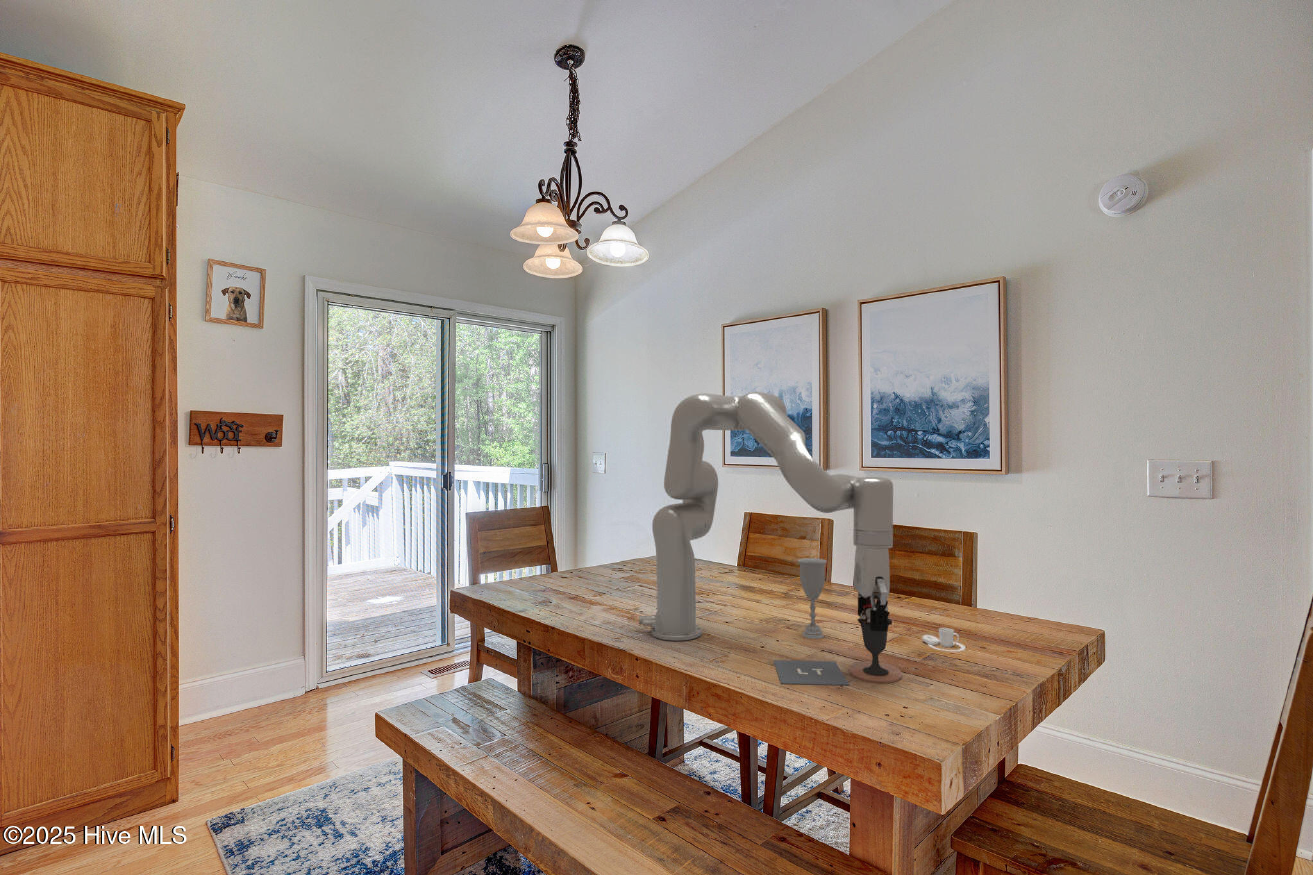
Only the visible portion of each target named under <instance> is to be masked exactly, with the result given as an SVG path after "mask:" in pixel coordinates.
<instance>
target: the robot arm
mask: <svg viewBox="0 0 1313 875" xmlns="http://www.w3.org/2000/svg"><path fill="white" fill-rule="evenodd" d="M787 411H788V410H787V406H786V405H785V403H784V401H783V400H782V399H781V398H780V397H779V396H777V395H775V394H772V393H766V392H760V391H751V392H748V393H744V394H743V395H736V396H735V395H734V396H733V395H723V394H714V393H697V394H693V395H690V396H687V397H686V398H684V399H683V400H681V401H680V402H679V403H678V404H677V406H676V407H675V409H674V411H673V414H672V418H671V423H670V436H669V445H668V449H667V451H668V452H667V458H666V464H665V472H664V480H663V488H664V492H665V493H666V495H667V496H669V498H671V499H674V500H681V501H682V502H680V503H679V502H678V503H674V504H667V505H665V506H663V507H661V508H660V509H659V510H658V511H656V513H655V514H654V517H653V519H652V523H651V524H652V536H653V539H654V546H655V559H656V563H655V564H656V612H655V614H651V615H650V616H649V615H638V616H639V617H638V623H639V625H642V626H645V627H648V626H651V628H650V634H651V636H652V637H654V638H656V639H659V640H663V641H674V642H675V641H676V642H678V641H690V640H693V639H696V638H699V637H701V635H703V628H702V627H701V626H700V625H699V624H697V619H696V618H697V617H696V616H697V615H696V613H697V610H696V608H697V607H696V606H697V604H696V603H697V602H696V596H697V595H696V591H697V590H696V557H695V554H694V549H693V547H692V543H691V541H694V540H699V539H701V538H703V537H704V536H706V535H707V534H708V533H709V532H710V529H711V528H712V527H713V526H712V525H713V521H714V517H715V512H716V511H715V510H716V503H717V496H718V490H719V489H718V488H719V477H718V473H717V471H716V468H715V467H714V466H713V465H712V464H711V463H710V462H709V461H706V460H704V459H703V458H704V456H703V455H704V452H705V440H704V436H703V432H704V431H707V430H708V431H709V430H710V431H711V430H712V431H747V432H748V433H749V434H750V435H751V436H752V437H753V438H754V439H755V440H756V441H757V442H758V443H759V444H760V445H761V446H762V447H763V448H764V449H765V451H767V452H768V453H769V454H770V455H771V456H772V458H773V459H774V460H775V461H776V463H777V467H778V468H779V470H780V472H781V474H782V476H783V478H784V479H785V480H786V482H787V483H788V485H789V486H790V487H791V488H792V489H793V490H794V491H795V493H797V495H799V496H800V498H801V499H802V500H803V501H804V502H805V503H806V504H808V505H809V506H810V507H811V508H812V509H814V510H816V511H817V512H820V513H823V514H831V513H835V512H839V511H843V510H851V509H852V510H853V532H852V533H853V537H852V538H853V539H852V540H853V541H852V542H853V546H855V553H854V564H853V566H854V567H853V588H854V589H855V590H856V592H857V616H858V617H860V615H861V613H862V612H863V611H864V610H865V609H864V606H865V605H866V603H867V605H869V604H870V603H871V605H872V610H871V609H870V629H871V630H872V631H887V630H888V631H889V626H888V619H889V616H888V612H889V605H888V604H889V603H888V602H889V600H888V597H889V596H890V586H891V585H890V583H891V582H890V581H891V580H890V579H891V578H890V577H891V576H890V575H891V574H890V556H889V555H890V554H889V553H890V552H889V549H892V548H893V546H894V545H893V544H894V543H893V542H894V540H893V539H894V538H893V537H894V535H893V534H894V528H893V527H894V484H893V481H892V479H889V478H887V477H881V476H880V477H879V476H861V477H860V476H855V475H849V474H841V473H839V474H830V473H828V472H827V471H826V470H824V468H822V467H821V465H819V463H817V461H816V460H815V459H814V458H813V457H812V456H811V454H810V452H809V451H808V449H807V447H806V434H805V432H804V431H803V430H802V429H801V428H800V427H798V425H797V424H796V423H795V422H794V421H792V420H791V418H789V417H788V415H787V413H788V412H787ZM865 598H866V599H867V598H868V599H867V602H866V599H865ZM868 600H869V601H870V603H869V601H868Z"/></svg>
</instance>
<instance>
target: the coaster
mask: <svg viewBox="0 0 1313 875" xmlns="http://www.w3.org/2000/svg"><path fill="white" fill-rule="evenodd" d="M871 664H872V660H866V661H865V660H863V661H856V662H853V663H851V664H850V665H849V666H848V673H849V674H850V675H851V676H852V677H854V678H856V679H857V680H860V681H864V682H868V683H876V684H889V683H890V684H892V683H895V682H899V681H900V680H901V679H902V677H903V676H902V675H903V674H902V670H901V669H899V667H897V666H895V665H892V664H889V663H886V662H880V661H879V665H880V667H881V668H884V669H886V670H888V671H889V673H888V674H887V675H871V674H867V673H865V672H864V671H863V669H864V668H866V667H870V666H871Z"/></svg>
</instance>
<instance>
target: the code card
mask: <svg viewBox="0 0 1313 875" xmlns="http://www.w3.org/2000/svg"><path fill="white" fill-rule="evenodd" d="M836 661H837V660H795V659H794V660H792V659H790V660H789V659H787V660H785V659H782V660H781V659H773V664H774V667H775V671H776V673H777V676H778V679H779V683H780V685H808V686H809V685H811V686H850V685H851V684H850V683H849V681H848V680H847V678H846V677H845V675H844V673H843V671H842V670H841V668H840V666H839V665H838V663H837V662H836Z"/></svg>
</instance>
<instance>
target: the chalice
mask: <svg viewBox="0 0 1313 875" xmlns="http://www.w3.org/2000/svg"><path fill="white" fill-rule="evenodd" d="M797 561H798V564H799V576H800V577H799V581H800V584H801V587H802V590H803V593H804V594H805V596H806V598H807V599H808V600H809V601H810V606H809V609H810V614H809V615H808V616H809V617H810V623H809V624H807V625H806V626H805V627H804V630H803V633H802V637H804V638H806V639H813V640H816V639H823V638H824V637H825V636H824V634H823V631H822V628H821V627H820V625H818V624H817V623H816V617H817V614H816V612H815V611H816V609H817V607H816V603H815V602H816V600H818V599H819V598H820V596H821V593H822V591H823V589H824V586H825V583H826V563H828V562H827V560H825V559H822V558H816V557H815V558H813V557H811V558H810V557H806V558H805V557H804V558H799V559H798V560H797Z"/></svg>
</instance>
